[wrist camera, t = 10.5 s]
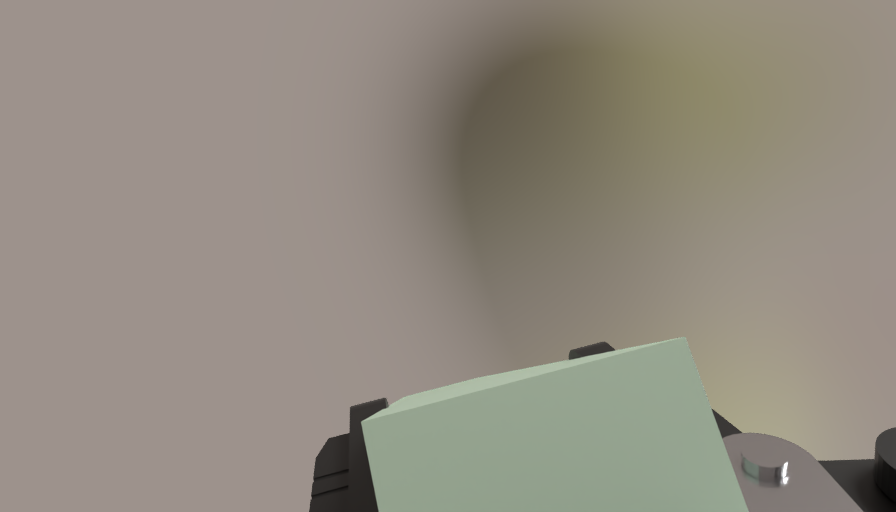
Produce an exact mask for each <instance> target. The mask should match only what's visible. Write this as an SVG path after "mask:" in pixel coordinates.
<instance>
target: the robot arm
mask: <svg viewBox="0 0 896 512" xmlns="http://www.w3.org/2000/svg"><path fill="white" fill-rule="evenodd" d="M611 351H616V350H615V349H614V348H612V347H611V346H610V345H609V344H608V343H606V342H600V343H597V344H592V345H588V346H585V347H581V348H577V349H573V350H571V351H570V353H569V360H571V359H576V358H582V357H586V356H591V355H596V354H601V353H606V352H611ZM388 407H389V406H388V402H387V399H386V398H382V399H378V400H374V401H370V402H366V403H362V404H359V405H355V406H351V407H350V433H348V434H344V435H340V436H336V437H333V438H329V439H328V440H327V442H326V443H325V445H324V446H323V448H322V450H321V451H320V453H319V454H318V456H317V457H316V462H315V469H314V482H313V485H312V494H311V496H312V500H311V502H310V510H309V512H379V510H378V505H377V500H376V495H375V490H374V485H373V480H372V475H371V470H370V465H369V460H368V455H367V450H366V445H365V440H364V435H363V429H362V424H361V422H362V421H363V420H365V419H367V418H369V417H370V416H372V415H374V414H376V413H377V412H379V411H381V410H383V409H386V408H388ZM712 412H713V415H714V417H715V420H716V423H717V426H718V428H719V431H720V434H721V437H722V439H723V442H724V445H725V448H726V450H727V453H728V456H729V459H730V461H731V464H732V467H733V470H734V472H735V475H736V478H737V481H738V483H739V486H740V489H741V492H742V494H743V497H744V500H745V503H746V505H747V508H748V511H749V512H896V428H891V429H888V430H886V431H884V432H882V433H881V434H880V435H879V436H878V437H877V440H876V445H875V459H866V460H835V461H817V460H816V459H815V458H814V457H813V456H812V455H811V454H810V453H808V452H807V451H806V450H804V449H803V448H801V447H799V446H798V445H796V444H794V443H792V442H789V441H787V440H784V439H782V438H779V437H775V436H771V435H766V434H759V433H742V432H741V431H739V430H738V429H737V428H736V427H734V426H733V425H732V424H731V423H729V422H728V421H727V420H725V419H724V418H723V417H722V416H720V415H719V414H718V413H717V412H715V411H714V410H713V409H712Z"/></svg>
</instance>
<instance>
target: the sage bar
mask: <svg viewBox="0 0 896 512" xmlns="http://www.w3.org/2000/svg"><path fill="white" fill-rule="evenodd" d="M361 424H362V429H363V435H364V440H365V445H366V450H367V455H368V460H369V465H370V470H371V475H372V480H373V485H374V490H375V495H376V500H377V505H378V510H379V512H749V511H748V508H747V505H746V503H745V500H744V497H743V494H742V492H741V489H740V486H739V483H738V481H737V478H736V475H735V472H734V470H733V467H732V464H731V461H730V459H729V456H728V453H727V450H726V448H725V445H724V442H723V439H722V437H721V434H720V431H719V428H718V426H717V423H716V420H715V417H714V415H713V412H712V409H711V406H710V404H709V401H708V398H707V396H706V393H705V390H704V387H703V384H702V382H701V379H700V376H699V374H698V371H697V368H696V365H695V362H694V360H693V357H692V354H691V351H690V349H689V346H688V343H687V340H686V338H685V337H682V338H676V339H671V340H666V341H662V342H656V343H651V344H646V345H641V346H637V347H632V348H626V349H621V350H616V351H611V352H606V353H601V354H596V355H591V356H586V357H582V358H576V359H571V360H566V361H560V362H555V363H550V364H545V365H540V366H535V367H530V368H525V369H520V370H515V371H510V372H505V373H500V374H495V375H490V376H485V377H480V378H475V379H471V380H467V381H463V382H460V383H456V384H452V385H448V386H444V387H440V388H437V389H432V390H429V391H425V392H421V393H417V394H413V395H410V396H406V397H403V398H402V399H400V400H398V401H397V402H395V403H393V404H391V405H389V407H388V408H386V409H383V410H381V411H379V412H377V413H376V414H374V415H372V416H370V417H369V418H367V419H365V420H363V421H362V422H361Z"/></svg>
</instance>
